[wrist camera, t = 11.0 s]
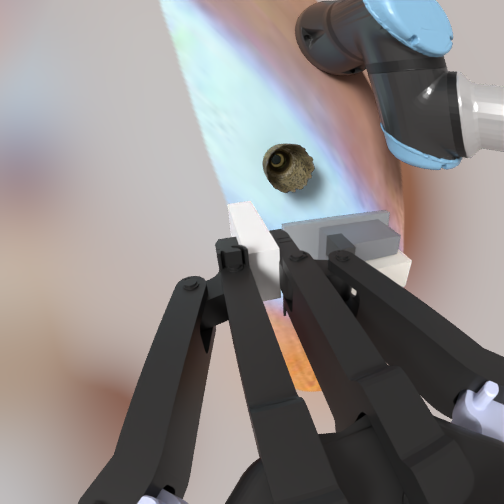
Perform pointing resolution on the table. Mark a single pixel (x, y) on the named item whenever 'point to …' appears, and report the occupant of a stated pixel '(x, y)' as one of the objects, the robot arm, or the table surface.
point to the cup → (288, 167)
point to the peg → (392, 267)
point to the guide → (346, 235)
